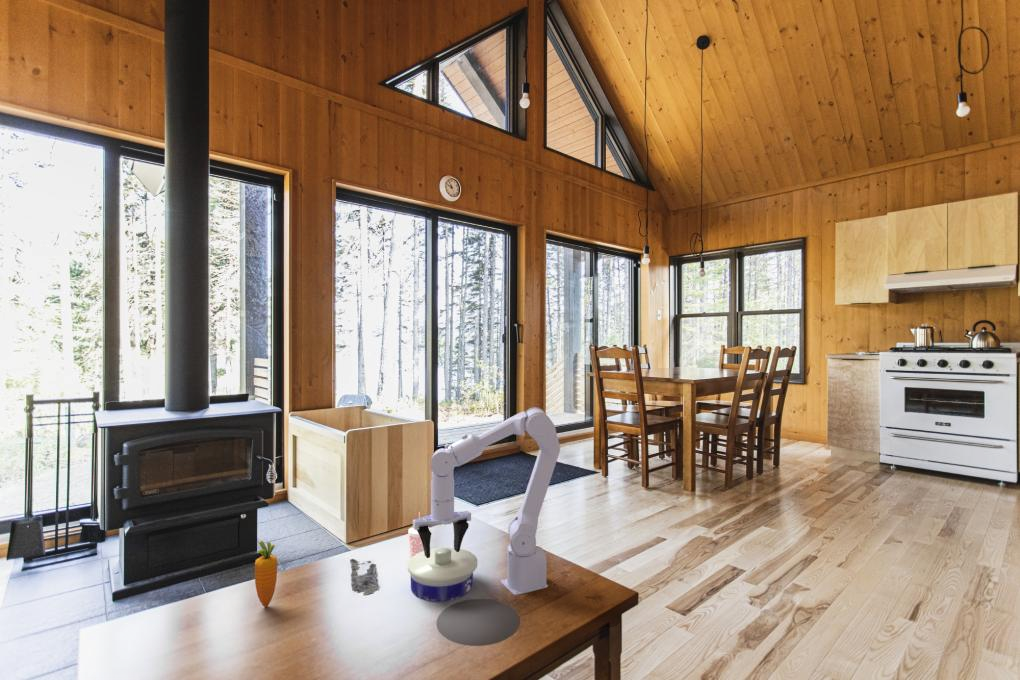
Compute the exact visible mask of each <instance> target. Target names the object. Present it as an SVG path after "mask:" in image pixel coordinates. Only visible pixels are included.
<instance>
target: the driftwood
mask: <svg viewBox="0 0 1020 680" xmlns="http://www.w3.org/2000/svg"><path fill="white" fill-rule="evenodd" d="M349 562H350V564H351V565H350V566H351V574H350V576H351V577H350V578H351V579H350V581H351V583H350V584H351V588H352V590H351V591H353V592H354V593H355V592H357V594H361V593H363V596H367V595H370V594H375V592H377V591H380V589H379V587H378V582H377V576H376V566H375V564H374V563H372V561H371V560H367V561H366V562H367V563H366V562H362V563H361V562H360V561H358V560H357V559H354V558H351V559H350V560H349ZM366 564H370V565H369V566H368V567H369V568H368V569H366V573H364V574H359V573H358V572H357V571H358V570H359V569H360V568H361V567H360V565H366Z"/></svg>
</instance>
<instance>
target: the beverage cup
mask: <svg viewBox="0 0 1020 680" xmlns="http://www.w3.org/2000/svg"><path fill="white" fill-rule="evenodd" d="M418 518H421V511H418ZM428 528H429V531H430V532H432V531H431V527H428ZM407 531H408V532H407V534H408V539H409V555H410V556H409V557H410V558H409V560H410V559H411V558H412V557H413V556H414V555H416V554H418V553H420V552H422V551H424V548H423V544H422V541H421V538H420V536H419V533H418V531H417V530H415V529H414V528H413V526H411V527H410V528H408V530H407Z"/></svg>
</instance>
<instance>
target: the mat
mask: <svg viewBox="0 0 1020 680" xmlns="http://www.w3.org/2000/svg"><path fill="white" fill-rule="evenodd" d="M520 620H521V619H520V616H519V614H518V612H517V611H516V609H514V608H513V607H512V606H510V604H509V605H508V604H507V603H505V602H502V601H498V600H496V599H495V600H494V599H486V598H475V599H471V598H470V599H466V600H461V601H459V602H455V603H453V604H451V605H449V606H447V607H446V608H444V609H443V610H442V611H441V612H440V614H439V615H438V616H437V619H436V628H437V629H436V630H438V632H439V634H441V636H443V638H446V639H447V640H448V641H450V642H452V643H455V644H459V645H463V646H471V647H472V646H473V647H480V646H488V645H489V646H490V645H494V644H498V643H500V642H503V641H505V640H507V639H509V638H511V637H512V636H513V635H514V634H515V633H516V632H517V631H518V629H519V627H520V623H521V621H520Z"/></svg>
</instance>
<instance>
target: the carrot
mask: <svg viewBox="0 0 1020 680" xmlns="http://www.w3.org/2000/svg"><path fill="white" fill-rule="evenodd" d="M258 544H259V545H260V547H261V549H258V550H257V552H258V553H259V554H260V555H261V556H259V558H256V559H255V563H254V580H255V581H254V583H255V590H256V593H257V598H258V599H259V602H260V604H262V606H263V607H264V608H267V607H268V606H269V605H270V604H271V601H272V599H273V596H274V594H275V589H276V586H277V579H278V557H277V556H276V555H272V552H273V550H274V549H275V547H276V545H275V544H272V543H271V541H268V542H266V544H265V542H264V540H260V541H259V542H258ZM266 545H267V546H266Z"/></svg>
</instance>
